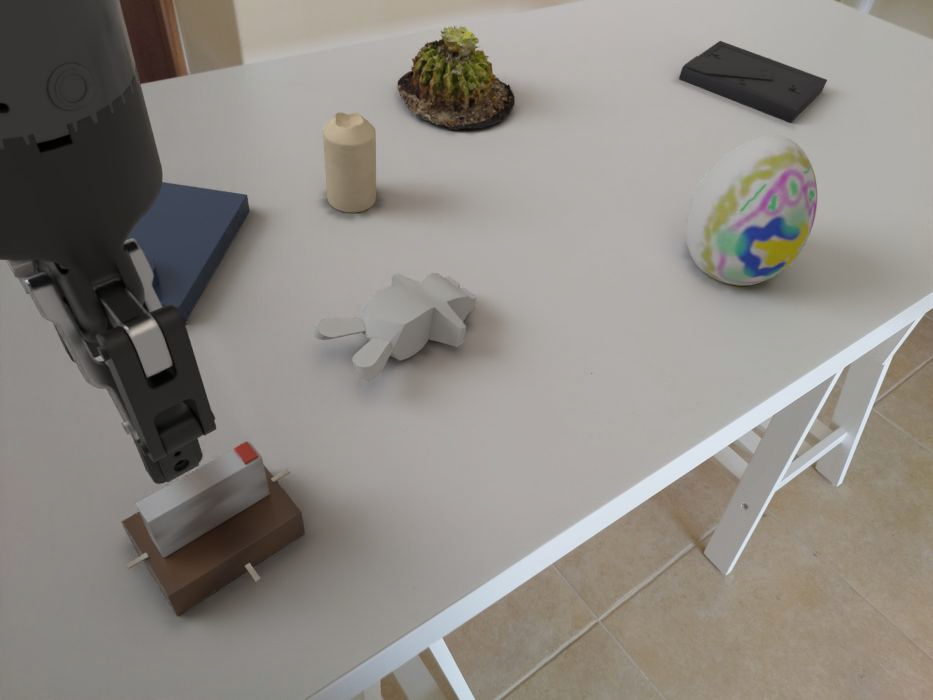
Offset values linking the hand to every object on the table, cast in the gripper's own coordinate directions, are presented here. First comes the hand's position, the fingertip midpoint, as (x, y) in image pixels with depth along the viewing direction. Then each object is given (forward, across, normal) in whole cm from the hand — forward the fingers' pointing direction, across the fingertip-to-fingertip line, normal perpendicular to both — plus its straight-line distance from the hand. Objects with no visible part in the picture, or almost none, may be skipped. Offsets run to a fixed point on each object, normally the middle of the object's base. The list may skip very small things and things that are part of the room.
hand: (133, 407), depth 34 cm
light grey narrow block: (+19, -5, +3) cm, 20 cm away
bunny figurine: (+22, -13, +26) cm, 37 cm away
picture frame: (+22, -24, +101) cm, 106 cm away
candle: (+22, -34, +35) cm, 54 cm away
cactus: (+22, -45, +60) cm, 78 cm away
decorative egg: (+22, -1, +62) cm, 66 cm away
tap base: (+22, -5, +3) cm, 23 cm away
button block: (+22, -37, +14) cm, 45 cm away
